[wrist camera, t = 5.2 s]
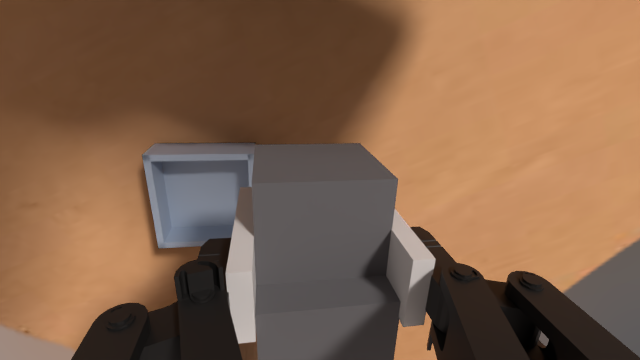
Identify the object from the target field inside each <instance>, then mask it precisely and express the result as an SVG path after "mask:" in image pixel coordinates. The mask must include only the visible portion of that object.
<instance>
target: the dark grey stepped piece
mask: <svg viewBox="0 0 640 360" xmlns="http://www.w3.org/2000/svg"><path fill="white" fill-rule="evenodd" d="M397 184H398V179H397V178H396V177H395V176H394V175H393V174H392V173H391V172H390V171H389V170H388V169H387V168H386V167H385V166H383V165H382V164H381V163H380V162H379V161H378V160H377V159H376V158H375V157H374V156H373V155H372V154H371V153H370V152H368V151H367V150H366V149H365V148H364V147H363V146H362V145H361V144H360V143H345V144H268V145H255V150H254V161H253V173H252V203H253V224H254V245H255V266H256V333H257V353H258V360H393V359H394V352H395V345H396V338H397V331H398V323H399V318H398V317H399V310H400V303H401V301H400V300H399V298H398V296H397V294H396V292H395V290H394V289H393V287H392V285H391V283H390V281H389V280H388V278H387V276H386V272H387V263H388V255H389V246H390V238H391V229H392V226H393V218H394V209H395V201H396V192H397Z"/></svg>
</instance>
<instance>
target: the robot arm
mask: <svg viewBox="0 0 640 360" xmlns="http://www.w3.org/2000/svg"><path fill="white" fill-rule="evenodd" d="M386 276H387V278H388V280H389V281H390V283H391V285H392V287H393V289H394V290H395V292H396V294H397V296H398V298H399V300H400V301H401V303H400V310H399V317H398V318H399V320H400V322H401V324H402V326H403V327H407V326H416V325H424V320H425V315H426V312H427V313H428V315H429V316H430V318H431V320H432V322H431V328H430V333H429V338H428V343H427V350H431V345H432V343H433V345H434V349H435V352H436V356H437V360H640V358H639V357H638V356H637V355H636V354H635V353H633V352H632V351H631V350H630V349H629V348H628V347H626V346H625V345H624V344H623V343H622V342H620V341H619V340H618V339H617V338H615V337H614V336H613V335H612V334H611V333H610V332H608V331H607V330H606V329H605V328H604V327H602V326H601V325H600V324H599V323H598V322H596V321H595V320H594V319H593V318H592V317H590V316H589V315H588V314H587V313H586V312H584V311H583V310H582V309H581V308H580V307H578V306H577V305H576V304H575V303H574V302H572V301H571V300H570V299H569V298H568V297H566V296H565V295H564V294H563V293H562V292H560V291H559V290H558V289H557V288H556V287H554V286H553V285H552V284H551V283H550V282H548V281H547V280H545V279H544V278H542V277H540V276H538V275H536V274H534V273H529V272H525V271H515V272H511V273H510V274H509V275H508V278H507V282H506V283H505V282H498V281H491V280H485V279H484V277H483V276H482V275H481V274H480V272H479V271H477V270H476V269H474V268H473V267H470V266H468V265H465V264H460V263H456V262H455V261H454V259H453V258H452V257H451V256H450V255H449V254H448V253H447V252H446V251H445V249H444V248H443V247H441V245H440V244H439V243H438V242H437V241H436V239H435V238H434V237H433V236H432V235H431V234H430V233H429V232H428V231H426V230H424V229H422V228H421V227H409V226H408V224H407V223H406V222H405V221H404V219H403V218H402V217H401V216H400V215H399V213H398V212H397V211H396V210H395V209H394V218H393V226H392V229H391V238H390V246H389V255H388V263H387V272H386ZM174 280H175V286H176V293H177V299H178V301H177V302H175V303H173V304H172V305H170V306H167V307H164V308H161V309H158V310H155V311H151V312H148V310H147V309H146V307H145V306H143V305H141V304H139V303H126V304H121V305H118V306H115V307H113V308H110V309H108V310H107V311H105V312H104V313H102V314H101V315H100V316H99V317H98V318H97V319H96V320H95V321H94V322H93V324H92V326H91V327H90V329H89V331H88V332H87V334H86V336H85V337H84V339H83V341H82V342H81V344H80V346H79V347H78V349H77V351H76V352H75V354H74V356H73V357H72V359H71V360H242V356H241V352H240V348H239V343H249V342H256V266H255V245H254V224H253V203H252V187H240V190H239V196H238V202H237V208H236V214H235V220H234V226H233V232H232V238H215V239H209V240H207V241H206V242H205V243H204V244H203V245H202V246H201V249H200V253H199V256H198V259H197V260H194V261H191V262H188V263H186V264H184V265H183V266H181V267H180V268H179V269H178V270H177V271H176V273H175V276H174ZM541 331H542V332H543V333H544V334H545V335H546V336H547V338H548V339H549V342H548V345H547V346H544V345H543V344H542V343H541V342H540V341H539V337H540V334H541Z"/></svg>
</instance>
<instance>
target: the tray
mask: <svg viewBox="0 0 640 360" xmlns="http://www.w3.org/2000/svg"><path fill="white" fill-rule="evenodd" d="M255 145H256V144H255V143H155V144H154V145H152V146H151V147H150V148H149V149H148V150H147V151H146V152H145V153H144V154H143V155H142V158H143V163H144V169H145V175H146V180H147V186H148V192H149V197H150V203H151V209H152V214H153V220H154V226H155V232H156V237H157V243H158V248H175V247H195V246H202V245H203V244H204V243H205V242H206V241H207V240H209V239H215V238H232V232H233V226H234V220H235V214H236V208H237V202H238V196H239V190H240V187H252V173H253V161H254V150H255Z"/></svg>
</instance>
